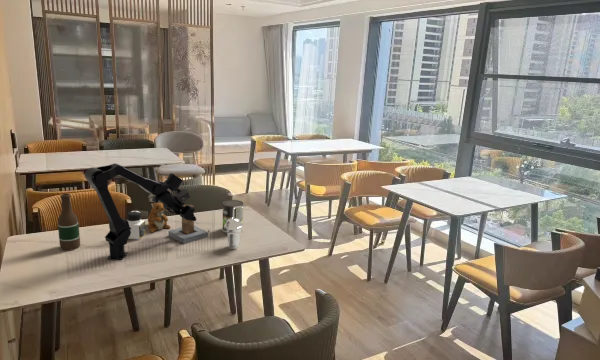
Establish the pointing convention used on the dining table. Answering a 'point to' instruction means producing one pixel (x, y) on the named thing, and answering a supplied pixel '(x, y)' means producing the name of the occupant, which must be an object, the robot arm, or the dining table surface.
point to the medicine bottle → (136, 225)
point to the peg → (187, 225)
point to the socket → (188, 238)
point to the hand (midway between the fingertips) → (190, 217)
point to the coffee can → (228, 211)
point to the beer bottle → (68, 226)
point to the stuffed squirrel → (157, 218)
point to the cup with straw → (233, 230)
